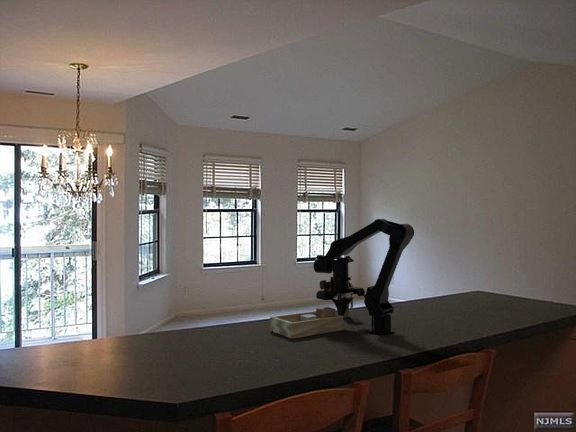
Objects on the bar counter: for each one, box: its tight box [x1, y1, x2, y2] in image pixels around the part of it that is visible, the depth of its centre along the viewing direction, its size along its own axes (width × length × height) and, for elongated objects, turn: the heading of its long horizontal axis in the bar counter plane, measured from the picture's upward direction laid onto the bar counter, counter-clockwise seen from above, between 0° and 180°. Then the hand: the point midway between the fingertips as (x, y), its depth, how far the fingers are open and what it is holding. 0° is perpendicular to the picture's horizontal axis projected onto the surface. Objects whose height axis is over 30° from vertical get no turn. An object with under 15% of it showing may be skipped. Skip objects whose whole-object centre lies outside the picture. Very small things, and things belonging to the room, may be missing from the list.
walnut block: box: [315, 306, 337, 319], centre depth 182 cm, size 5×5×5 cm
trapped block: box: [300, 314, 316, 321], centre depth 186 cm, size 4×4×4 cm
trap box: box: [269, 310, 344, 339], centre depth 181 cm, size 14×22×5 cm, turn 123°
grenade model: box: [337, 281, 354, 319], centre depth 204 cm, size 6×7×15 cm
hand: (341, 316), depth 186 cm, fingers closed
